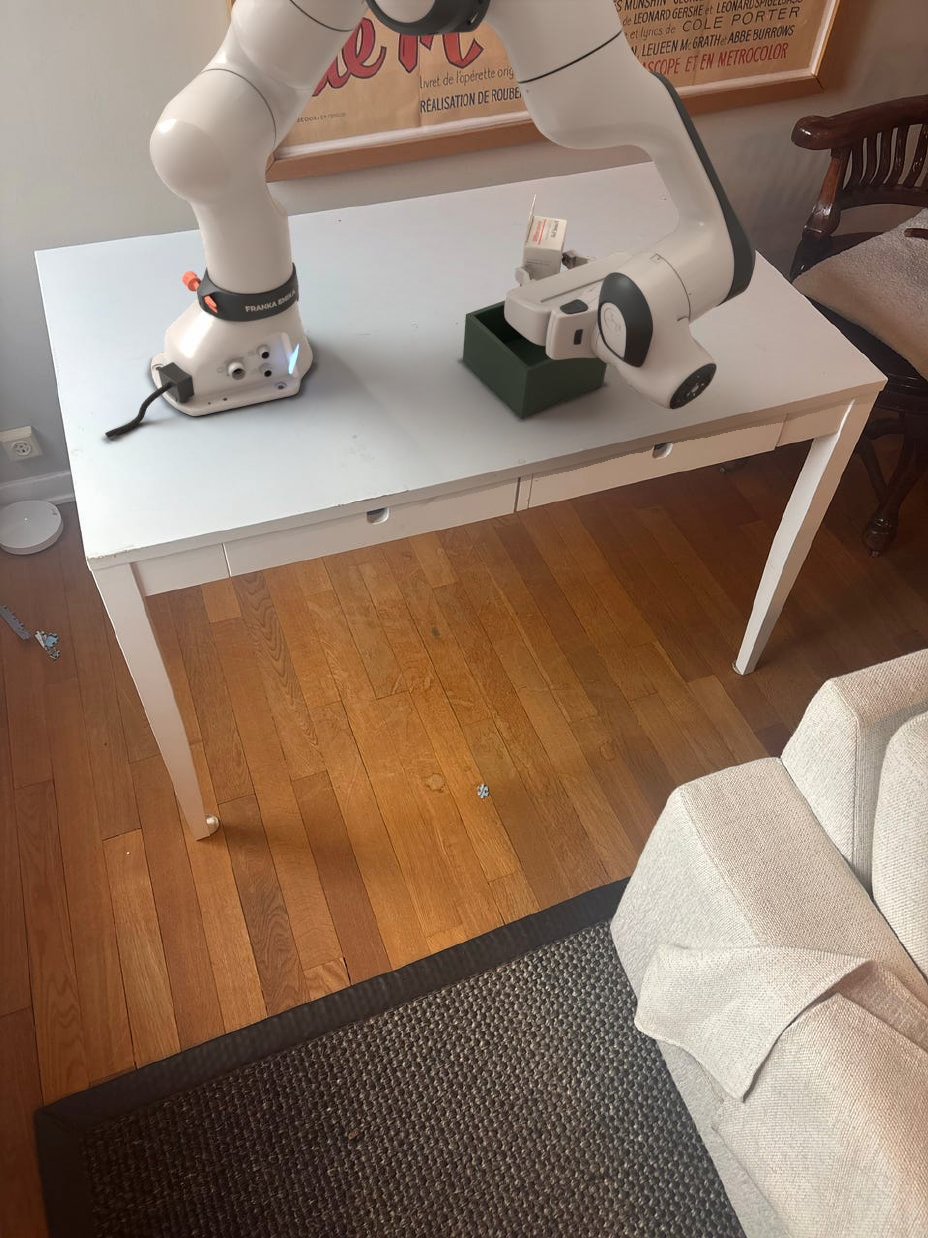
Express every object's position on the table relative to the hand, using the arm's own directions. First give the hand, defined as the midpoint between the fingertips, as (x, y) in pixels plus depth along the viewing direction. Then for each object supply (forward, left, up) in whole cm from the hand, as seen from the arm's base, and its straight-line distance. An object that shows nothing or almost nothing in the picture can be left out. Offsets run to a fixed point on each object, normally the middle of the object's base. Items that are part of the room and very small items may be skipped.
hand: (543, 263), depth 126 cm
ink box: (+1, +1, -9) cm, 9 cm away
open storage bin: (0, -1, -17) cm, 17 cm away
